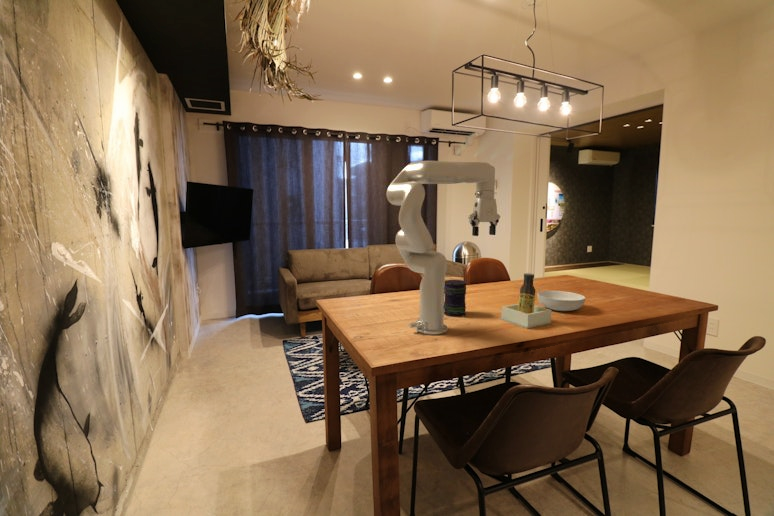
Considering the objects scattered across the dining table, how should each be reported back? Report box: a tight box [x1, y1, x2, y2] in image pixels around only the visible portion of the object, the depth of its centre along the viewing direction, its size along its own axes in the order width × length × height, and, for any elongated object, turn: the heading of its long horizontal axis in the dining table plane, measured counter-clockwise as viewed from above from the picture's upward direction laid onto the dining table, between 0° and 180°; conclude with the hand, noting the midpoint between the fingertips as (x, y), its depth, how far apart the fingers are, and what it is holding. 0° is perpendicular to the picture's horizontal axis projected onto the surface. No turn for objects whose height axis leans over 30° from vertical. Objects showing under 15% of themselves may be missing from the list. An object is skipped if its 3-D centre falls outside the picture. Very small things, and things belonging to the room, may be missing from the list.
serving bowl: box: [536, 290, 586, 312], centre depth 178 cm, size 21×21×7 cm
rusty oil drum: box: [444, 279, 467, 318], centre depth 170 cm, size 10×10×15 cm
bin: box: [500, 303, 553, 330], centre depth 158 cm, size 14×14×6 cm
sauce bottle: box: [518, 272, 536, 314], centre depth 157 cm, size 7×6×20 cm
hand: (483, 235), depth 162 cm, fingers open, 9 cm apart
